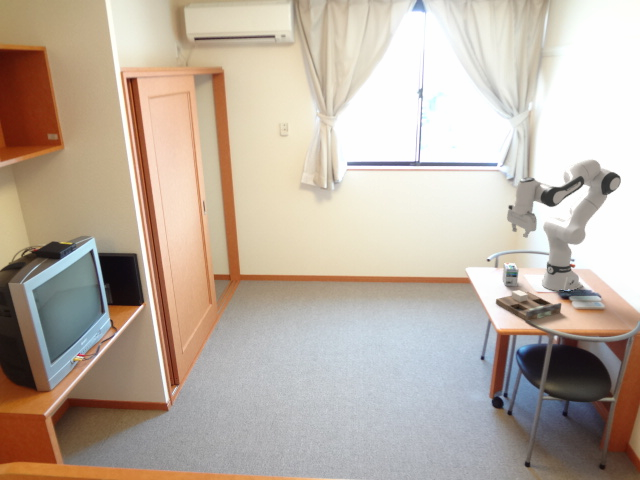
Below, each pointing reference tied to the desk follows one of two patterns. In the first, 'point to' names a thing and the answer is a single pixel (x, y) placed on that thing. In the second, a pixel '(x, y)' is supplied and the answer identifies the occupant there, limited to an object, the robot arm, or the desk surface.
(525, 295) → the block
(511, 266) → the light bulb box
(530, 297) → the board
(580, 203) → the robot arm
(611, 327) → the desk surface
